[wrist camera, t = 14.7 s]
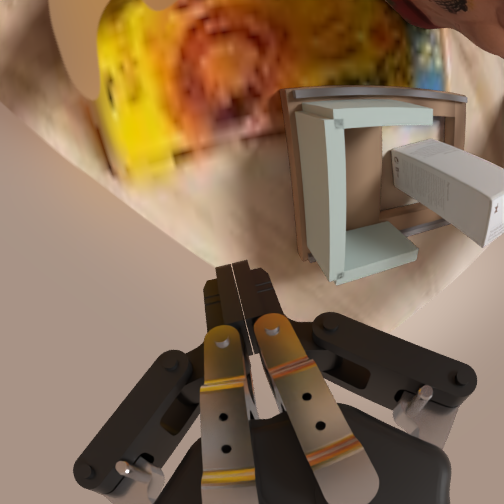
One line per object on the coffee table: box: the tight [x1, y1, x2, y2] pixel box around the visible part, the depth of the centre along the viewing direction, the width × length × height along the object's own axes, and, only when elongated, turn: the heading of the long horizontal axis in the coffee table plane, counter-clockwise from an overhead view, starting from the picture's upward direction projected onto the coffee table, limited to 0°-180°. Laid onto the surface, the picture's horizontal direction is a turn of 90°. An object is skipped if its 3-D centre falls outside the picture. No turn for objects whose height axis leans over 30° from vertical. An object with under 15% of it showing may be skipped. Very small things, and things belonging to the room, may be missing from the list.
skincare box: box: [391, 139, 504, 248], centre depth 18 cm, size 6×4×12 cm
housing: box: [295, 99, 433, 286], centre depth 19 cm, size 9×13×5 cm
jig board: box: [280, 85, 467, 263], centre depth 22 cm, size 20×15×2 cm
